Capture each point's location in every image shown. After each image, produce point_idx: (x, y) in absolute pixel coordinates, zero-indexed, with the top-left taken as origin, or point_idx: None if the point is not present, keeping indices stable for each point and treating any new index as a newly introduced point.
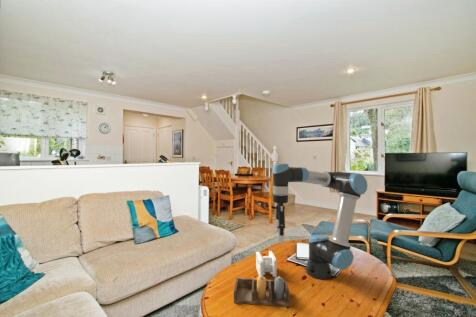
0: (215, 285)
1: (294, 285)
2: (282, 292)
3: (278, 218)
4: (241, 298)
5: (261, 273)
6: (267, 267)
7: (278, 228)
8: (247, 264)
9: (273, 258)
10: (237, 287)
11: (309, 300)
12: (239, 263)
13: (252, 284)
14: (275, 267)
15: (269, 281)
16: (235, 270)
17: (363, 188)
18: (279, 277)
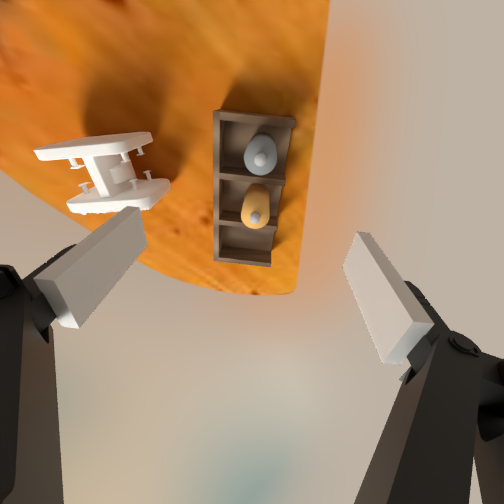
0: (213, 282)
1: (178, 64)
2: (273, 141)
3: (36, 319)
4: (265, 240)
5: (166, 189)
6: (128, 166)
7: (382, 354)
8: (94, 213)
9: (110, 154)
10: (233, 250)
11: (264, 24)
12: None
13: (242, 226)
14: (137, 142)
15: (222, 176)
16: None
17: None
18: (261, 160)
